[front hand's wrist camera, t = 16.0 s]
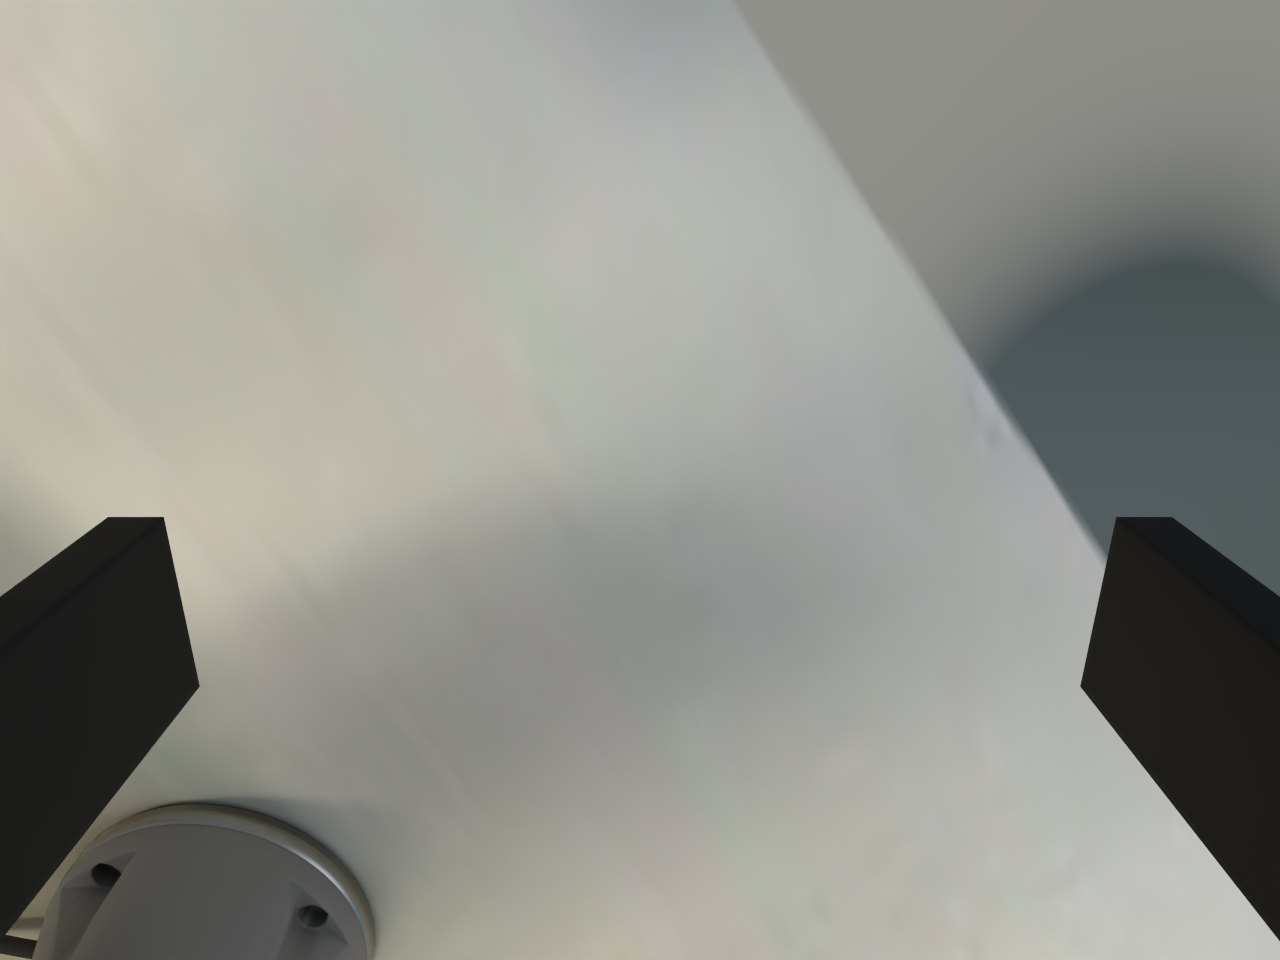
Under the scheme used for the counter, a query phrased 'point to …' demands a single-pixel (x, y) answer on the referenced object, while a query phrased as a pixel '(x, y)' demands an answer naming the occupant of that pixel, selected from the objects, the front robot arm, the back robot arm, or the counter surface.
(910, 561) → the counter surface
